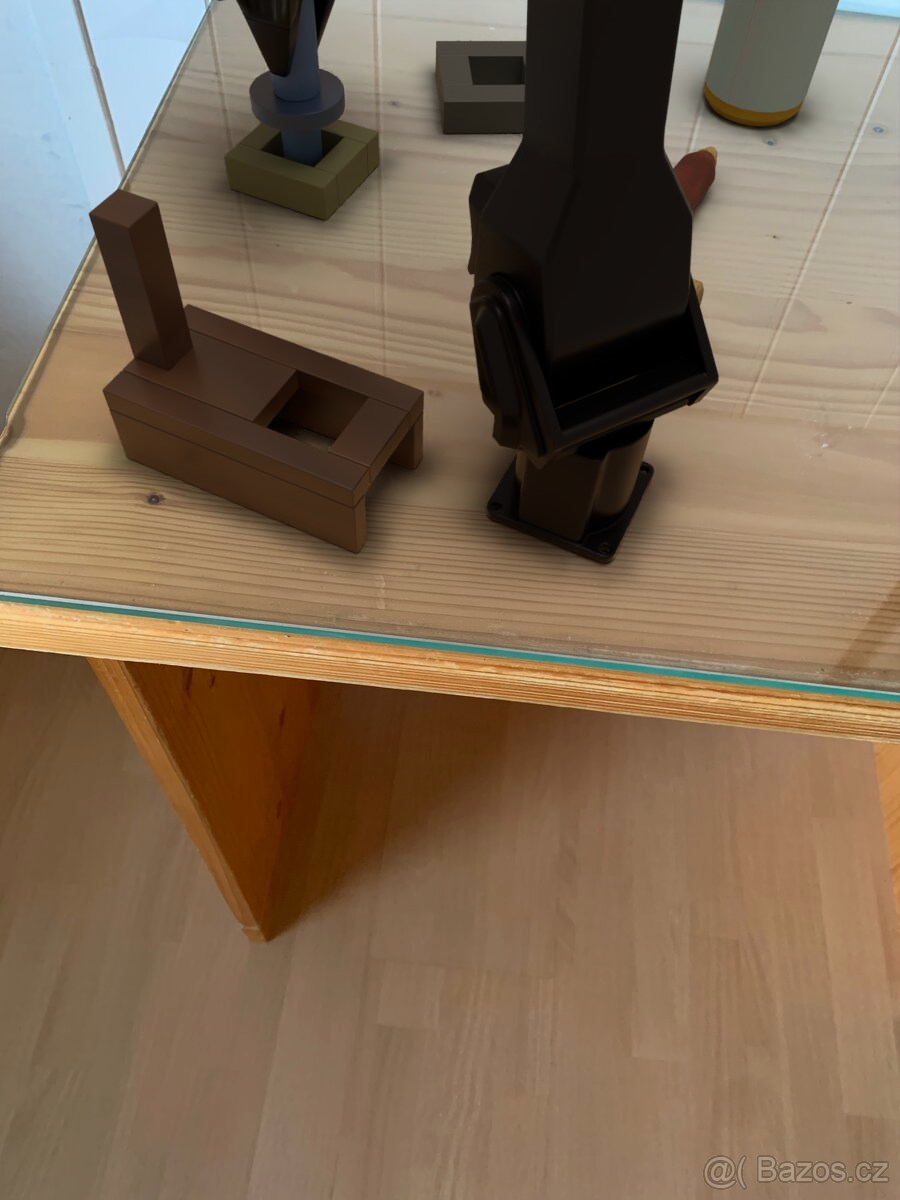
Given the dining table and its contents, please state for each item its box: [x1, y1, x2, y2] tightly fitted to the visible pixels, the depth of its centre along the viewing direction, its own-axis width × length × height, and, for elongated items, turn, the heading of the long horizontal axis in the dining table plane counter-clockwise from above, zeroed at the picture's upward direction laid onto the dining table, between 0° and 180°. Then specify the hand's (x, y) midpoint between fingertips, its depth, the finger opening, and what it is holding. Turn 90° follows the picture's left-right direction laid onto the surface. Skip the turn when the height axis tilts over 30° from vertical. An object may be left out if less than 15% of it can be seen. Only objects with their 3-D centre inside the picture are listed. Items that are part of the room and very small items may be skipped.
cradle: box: [223, 119, 380, 221], centre depth 59 cm, size 7×7×2 cm
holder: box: [434, 40, 526, 134], centre depth 65 cm, size 8×8×2 cm
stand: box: [88, 188, 425, 554], centre depth 42 cm, size 7×13×12 cm, turn 64°
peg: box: [248, 0, 346, 168], centre depth 55 cm, size 6×6×10 cm
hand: (294, 62), depth 54 cm, fingers closed on peg, 3 cm apart
